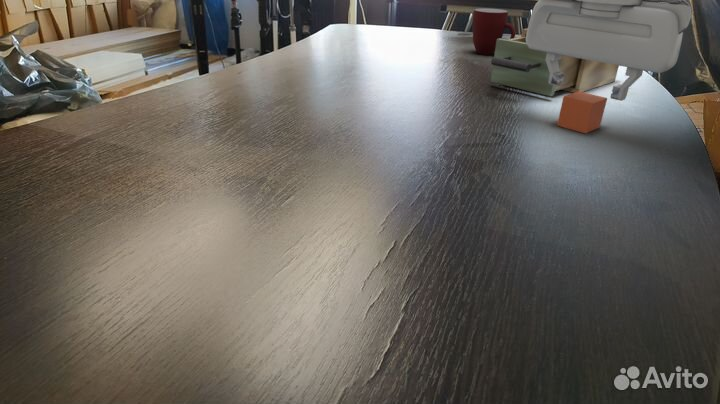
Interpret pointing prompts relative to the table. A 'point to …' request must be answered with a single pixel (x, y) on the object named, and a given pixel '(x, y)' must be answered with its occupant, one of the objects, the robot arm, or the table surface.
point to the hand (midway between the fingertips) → (585, 91)
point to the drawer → (529, 67)
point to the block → (581, 112)
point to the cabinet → (590, 74)
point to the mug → (489, 29)
